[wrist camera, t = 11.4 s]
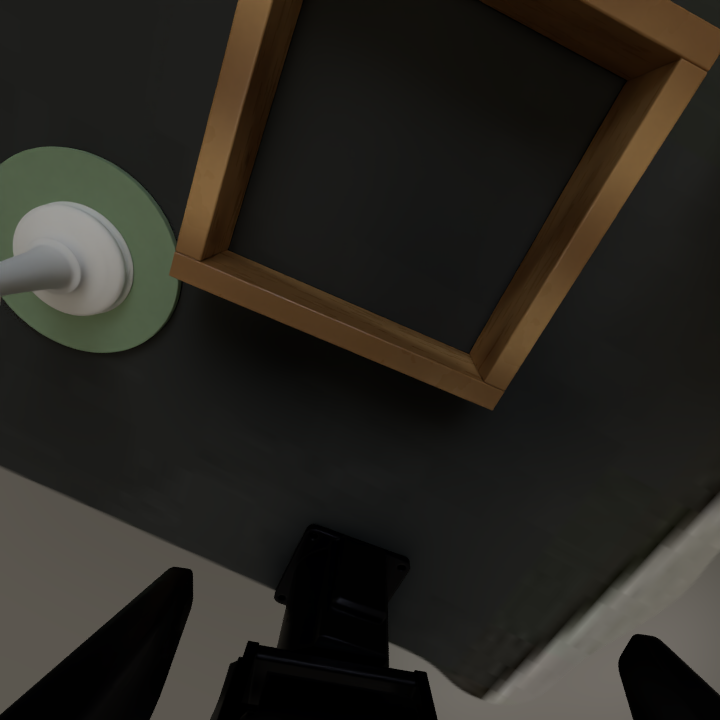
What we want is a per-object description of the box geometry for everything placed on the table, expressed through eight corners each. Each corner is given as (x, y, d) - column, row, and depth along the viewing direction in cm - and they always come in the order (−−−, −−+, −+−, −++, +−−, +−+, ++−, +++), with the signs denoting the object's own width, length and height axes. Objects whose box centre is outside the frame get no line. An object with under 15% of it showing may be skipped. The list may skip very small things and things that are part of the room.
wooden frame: (476, 379, 21) (492, 411, 18) (200, 261, 19) (168, 275, 16) (665, 63, 16) (732, 35, 13) (310, -132, 14) (292, -218, 11)
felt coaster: (158, 377, 21) (154, 380, 21) (-24, 306, 20) (-32, 308, 20) (204, 202, 18) (201, 202, 18) (-10, 108, 17) (-18, 106, 17)
